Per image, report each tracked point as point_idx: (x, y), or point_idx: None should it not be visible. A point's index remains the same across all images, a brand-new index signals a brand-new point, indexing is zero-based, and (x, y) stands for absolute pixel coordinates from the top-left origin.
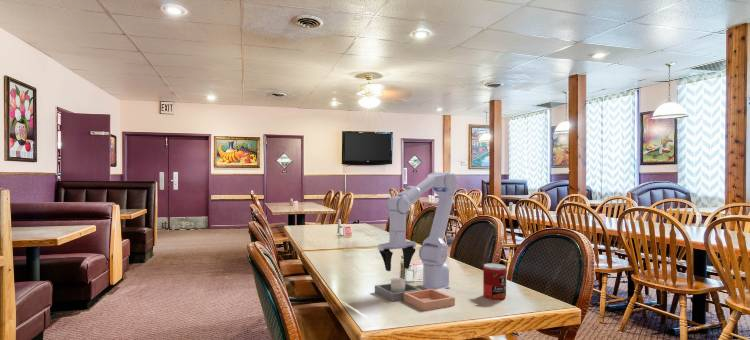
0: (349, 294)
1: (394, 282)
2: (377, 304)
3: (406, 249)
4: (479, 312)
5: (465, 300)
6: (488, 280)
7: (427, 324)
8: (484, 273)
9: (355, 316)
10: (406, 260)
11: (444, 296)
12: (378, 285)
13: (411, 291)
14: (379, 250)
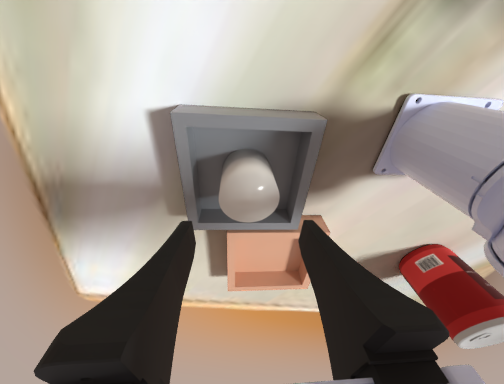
0: (55, 43)
1: (222, 208)
2: (149, 203)
3: (352, 359)
4: (311, 294)
5: (356, 254)
6: (429, 301)
7: (199, 301)
8: (453, 308)
9: (69, 246)
10: (317, 270)
11: (305, 269)
12: (188, 120)
13: (259, 229)
14: (42, 360)
